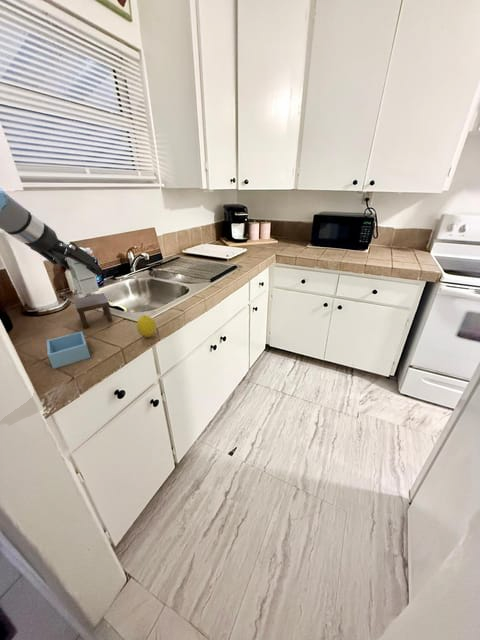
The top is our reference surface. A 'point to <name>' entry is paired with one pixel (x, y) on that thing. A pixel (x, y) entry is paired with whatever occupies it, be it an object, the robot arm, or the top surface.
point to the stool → (92, 306)
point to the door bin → (67, 349)
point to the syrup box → (82, 276)
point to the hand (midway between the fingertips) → (90, 272)
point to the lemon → (146, 326)
